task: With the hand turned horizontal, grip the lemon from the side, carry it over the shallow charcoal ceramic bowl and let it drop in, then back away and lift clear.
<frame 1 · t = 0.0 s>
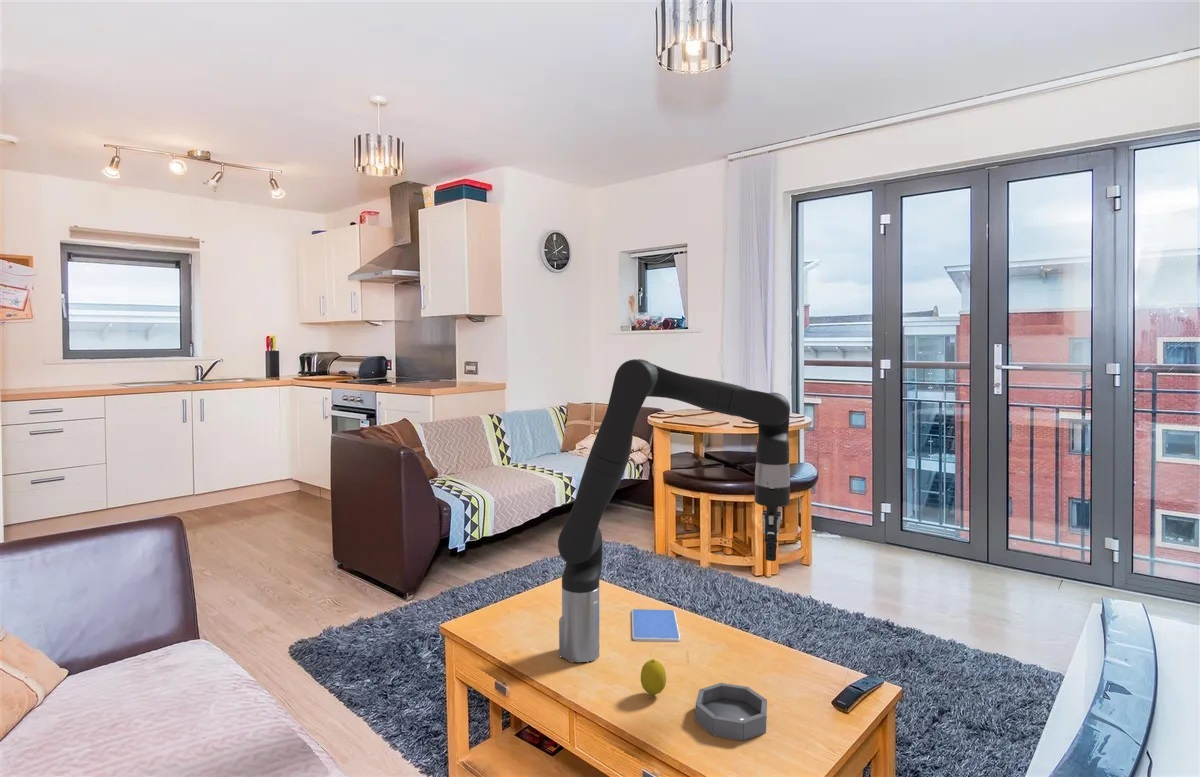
hand: (771, 554, 140), 29 cm above the table, tool pointing down, fingers open, 8 cm apart
bowl: (731, 718, 127), on the table
tablet computer: (654, 628, 171), on the table
lemon: (653, 696, 136), on the table
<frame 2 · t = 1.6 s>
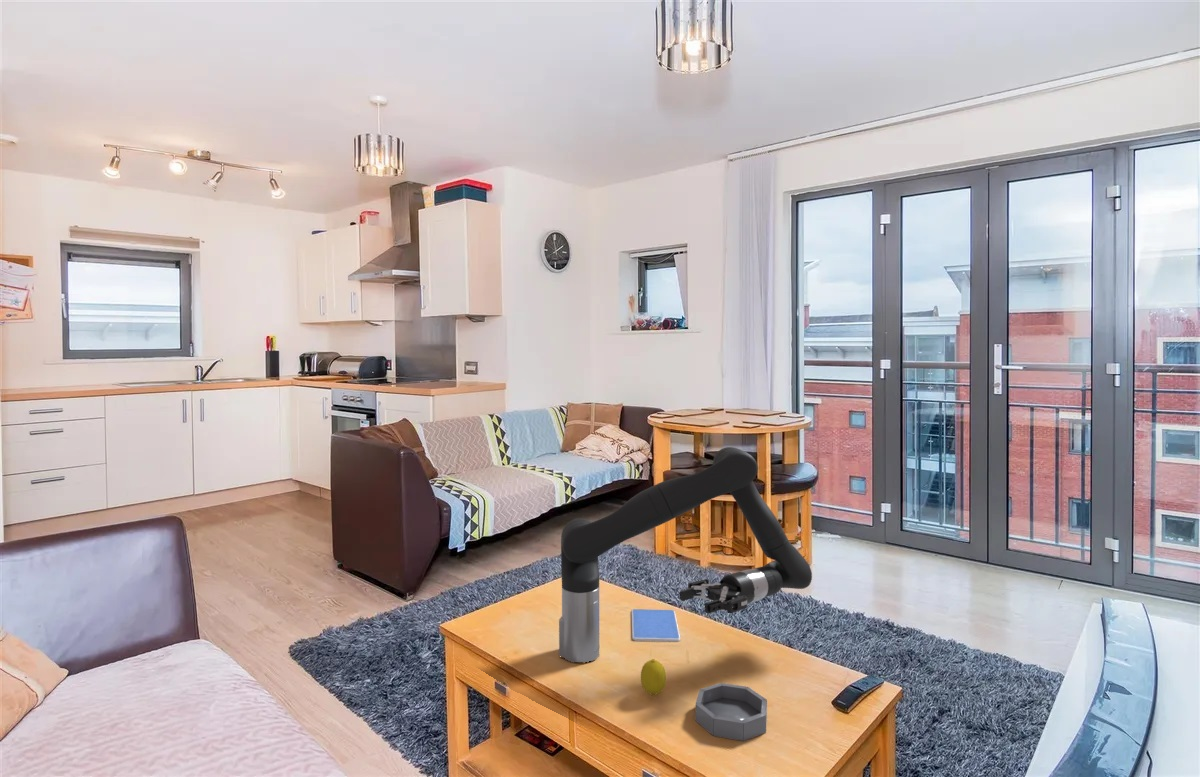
hand: (692, 602, 141), 18 cm above the table, tool horizontal, fingers open, 8 cm apart
nothing on the table moved.
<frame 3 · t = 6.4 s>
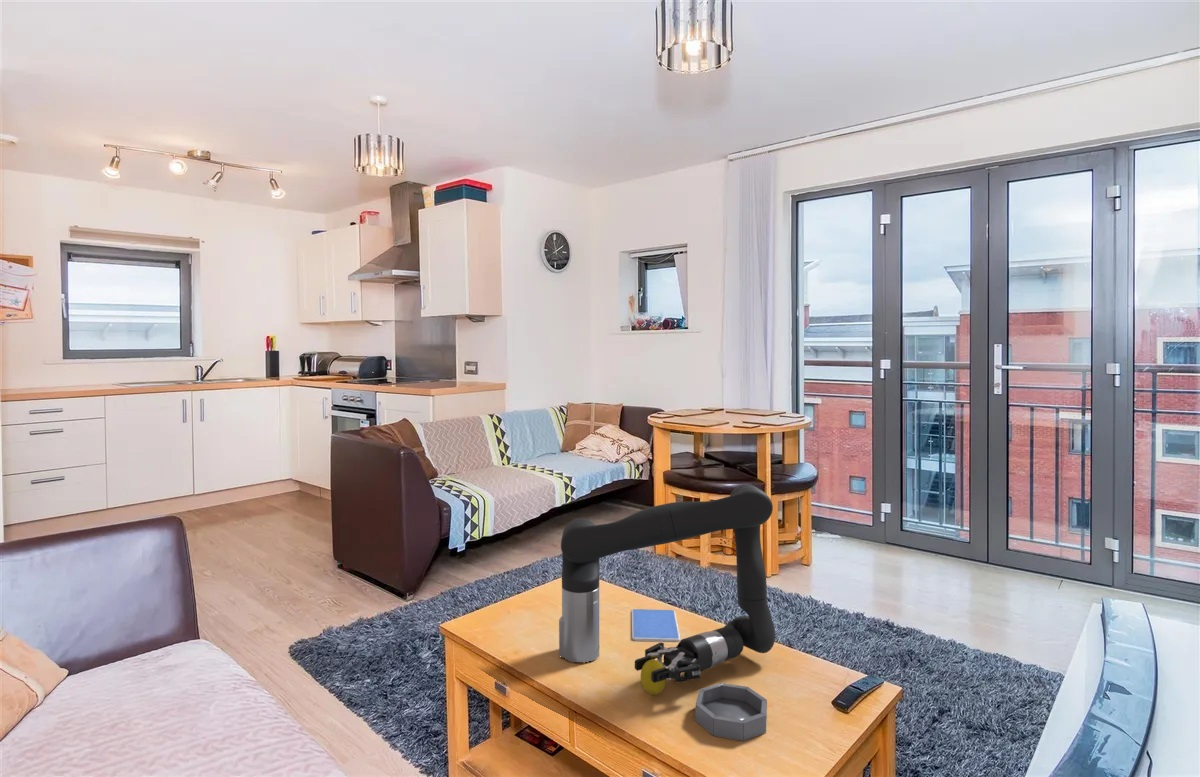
hand: (644, 671, 134), 6 cm above the table, tool horizontal, fingers closed on lemon, 5 cm apart
lemon: (653, 696, 136), on the table, touching gripper
everything else where it was.
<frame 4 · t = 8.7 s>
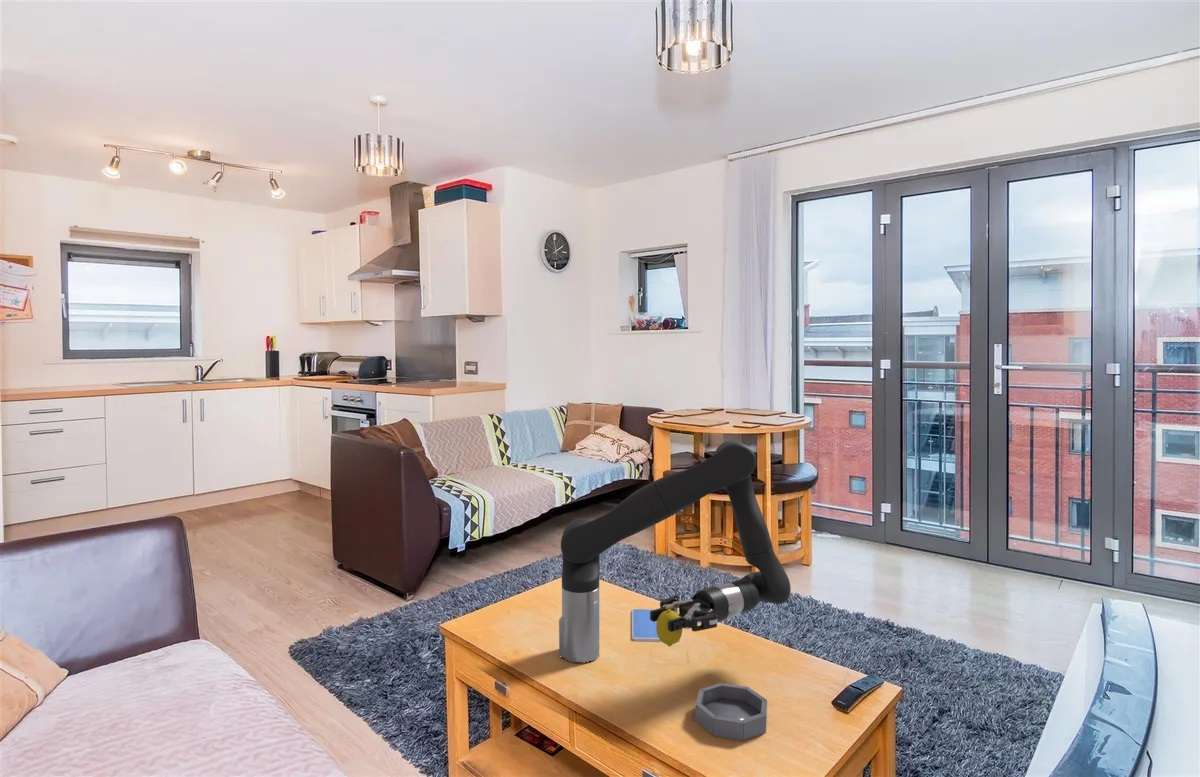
hand: (660, 621, 132), 18 cm above the table, tool horizontal, fingers closed on lemon, 5 cm apart
lemon: (669, 647, 134), point 11 cm above the table, touching gripper
everything else where it was.
when the fingers open (11 cm above the table, at t = 11.3 s): lemon drops 3 cm, resting on bowl.
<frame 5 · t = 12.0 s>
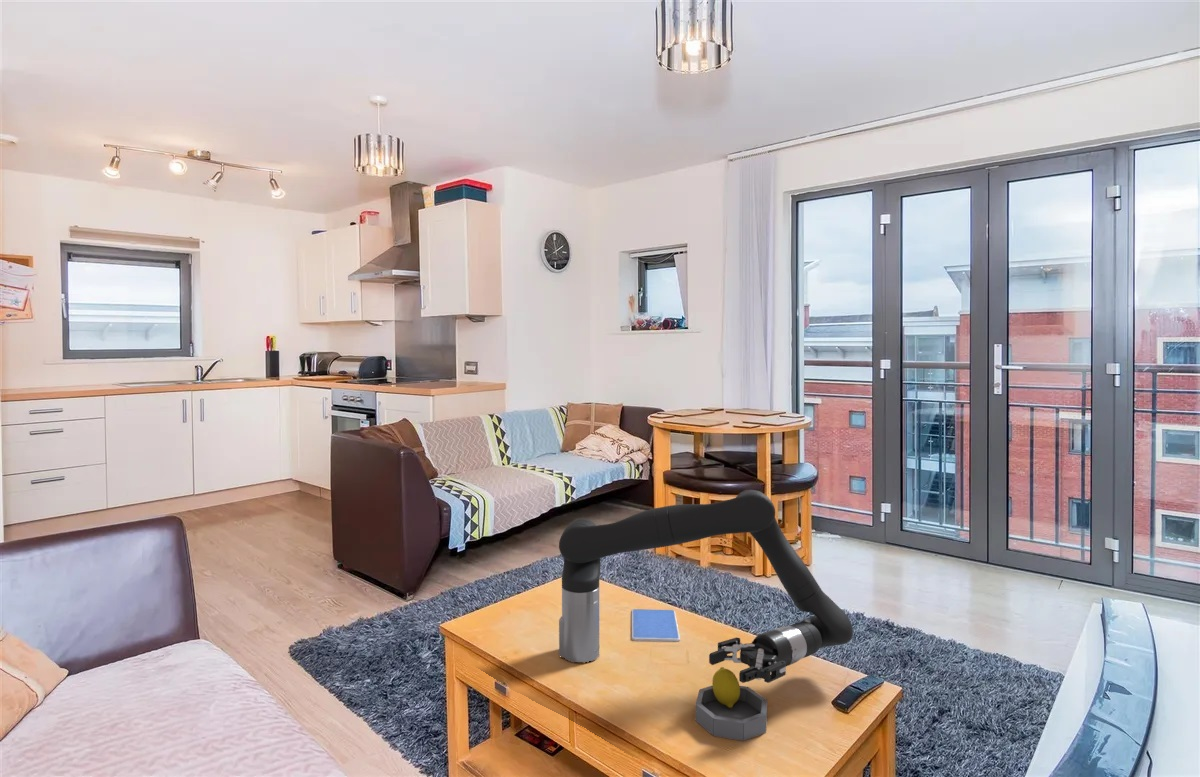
hand: (725, 668, 125), 11 cm above the table, tool horizontal, fingers open, 8 cm apart
lemon: (730, 709, 127), point 2 cm above the table, touching bowl
everything else where it was.
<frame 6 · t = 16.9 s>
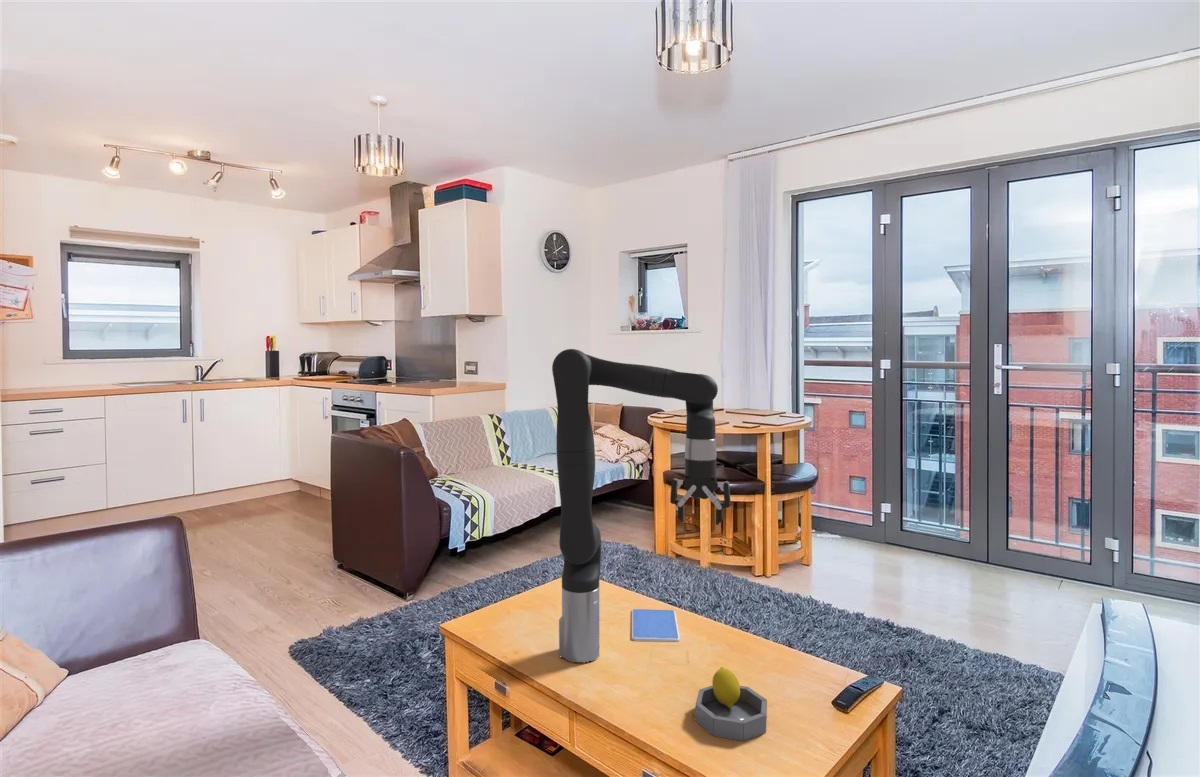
hand: (700, 522, 152), 33 cm above the table, tool pointing down, fingers open, 8 cm apart
nothing on the table moved.
at the end: lemon inside the target area on the bowl (0.5 cm from its centre), point 1.7 cm above the bowl's base; the gripper is holding nothing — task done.
